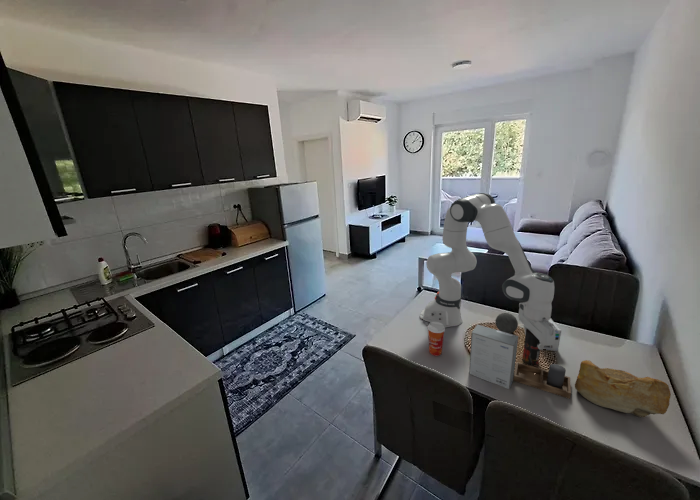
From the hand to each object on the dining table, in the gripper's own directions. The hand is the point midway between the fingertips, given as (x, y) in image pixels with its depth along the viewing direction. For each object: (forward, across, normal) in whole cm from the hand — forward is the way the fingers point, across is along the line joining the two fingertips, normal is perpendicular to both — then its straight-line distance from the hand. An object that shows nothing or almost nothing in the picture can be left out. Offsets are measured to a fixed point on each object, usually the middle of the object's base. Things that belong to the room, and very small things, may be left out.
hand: (533, 341), depth 123 cm
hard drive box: (+11, -7, +20) cm, 24 cm away
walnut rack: (+11, -12, +2) cm, 16 cm away
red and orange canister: (+10, +9, +38) cm, 41 cm away
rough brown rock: (+11, -20, -19) cm, 30 cm away
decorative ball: (+10, +24, 0) cm, 26 cm away
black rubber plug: (+10, -14, -1) cm, 17 cm away
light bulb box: (+11, +13, -14) cm, 22 cm away
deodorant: (+11, +1, 0) cm, 11 cm away
